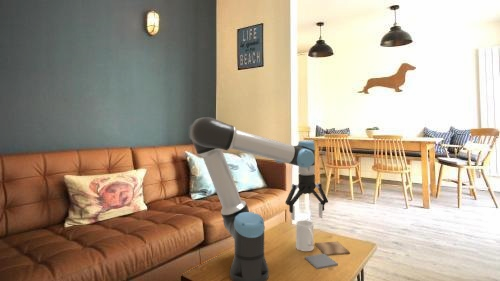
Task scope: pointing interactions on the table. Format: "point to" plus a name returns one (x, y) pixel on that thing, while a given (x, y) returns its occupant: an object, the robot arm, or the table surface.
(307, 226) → the mug
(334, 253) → the walnut coaster
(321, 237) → the table surface
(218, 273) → the table surface
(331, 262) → the slate coaster
